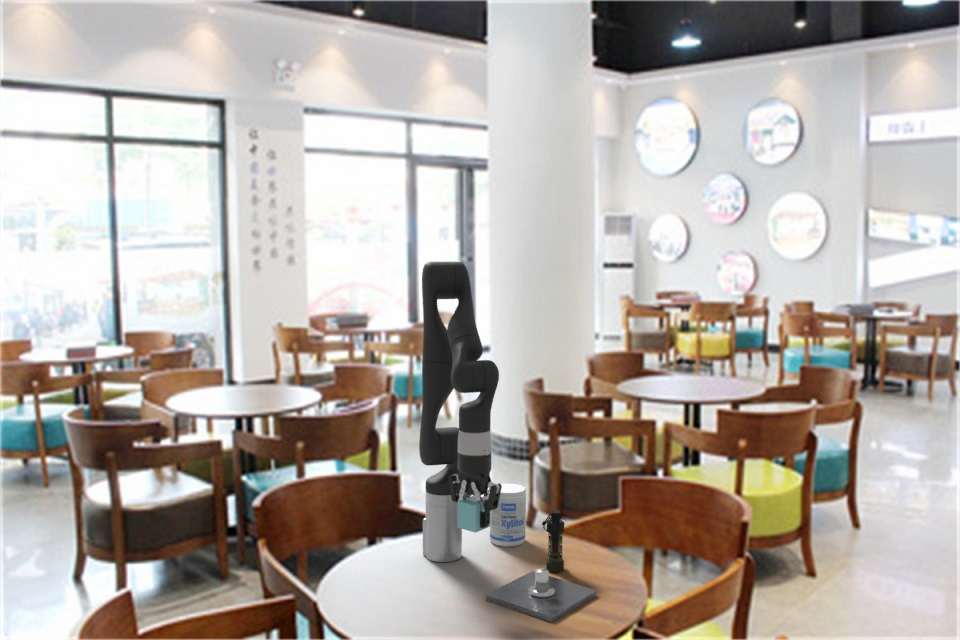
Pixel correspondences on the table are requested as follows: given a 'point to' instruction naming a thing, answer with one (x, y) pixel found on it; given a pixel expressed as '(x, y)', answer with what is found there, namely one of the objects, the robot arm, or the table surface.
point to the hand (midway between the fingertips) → (474, 524)
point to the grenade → (554, 541)
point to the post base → (541, 595)
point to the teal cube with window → (469, 514)
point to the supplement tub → (509, 517)
